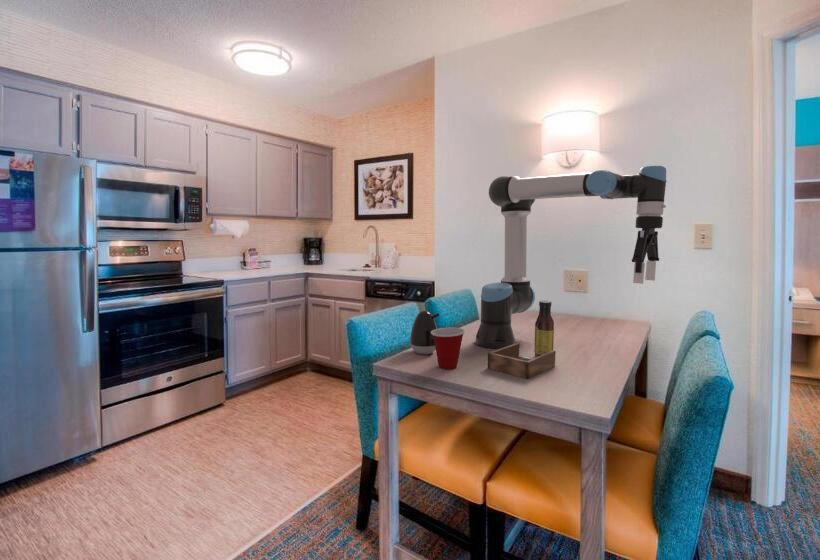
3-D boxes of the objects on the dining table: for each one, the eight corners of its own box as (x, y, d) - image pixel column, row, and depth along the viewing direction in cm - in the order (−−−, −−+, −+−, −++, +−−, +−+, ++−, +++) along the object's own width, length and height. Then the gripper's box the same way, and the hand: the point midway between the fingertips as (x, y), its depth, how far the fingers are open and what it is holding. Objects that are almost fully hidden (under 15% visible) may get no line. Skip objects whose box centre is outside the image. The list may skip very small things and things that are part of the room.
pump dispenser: (439, 356, 145) (440, 313, 143) (409, 356, 145) (409, 313, 144) (438, 349, 155) (439, 308, 153) (410, 348, 155) (410, 308, 154)
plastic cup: (428, 361, 139) (429, 326, 138) (460, 361, 140) (461, 326, 139) (431, 372, 128) (432, 333, 127) (466, 372, 129) (467, 334, 128)
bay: (487, 368, 133) (487, 352, 132) (516, 356, 146) (516, 342, 145) (527, 379, 123) (528, 362, 123) (554, 365, 136) (555, 350, 136)
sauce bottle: (539, 354, 150) (542, 299, 148) (556, 357, 145) (559, 301, 143) (530, 357, 145) (532, 301, 143) (547, 361, 141) (549, 303, 139)
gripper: (652, 213, 123) (646, 285, 125) (672, 217, 141) (666, 280, 143) (624, 214, 128) (619, 283, 130) (647, 217, 146) (642, 278, 148)
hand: (644, 281), depth 137 cm, fingers open, 13 cm apart
